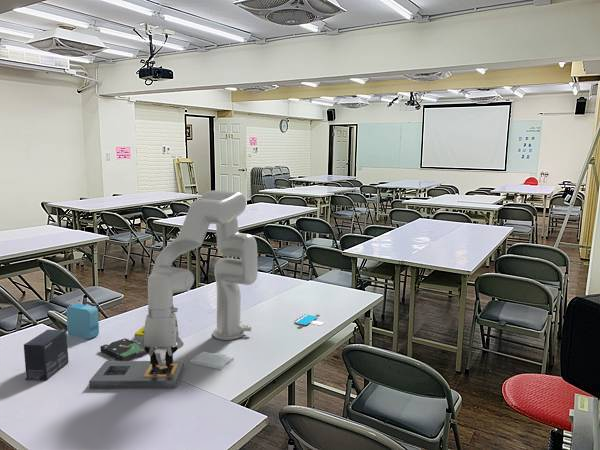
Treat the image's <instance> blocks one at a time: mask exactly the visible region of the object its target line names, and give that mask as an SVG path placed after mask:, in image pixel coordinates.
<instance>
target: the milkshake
mask: <svg viewBox="0 0 600 450" xmlns="http://www.w3.org/2000/svg"><path fill="white" fill-rule="evenodd" d="M154 355H155V360H156V365H157V372H158V373H157V375H168V374H169V373H168V367H167V355H168V350H167V347H155V349H154Z"/></svg>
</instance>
